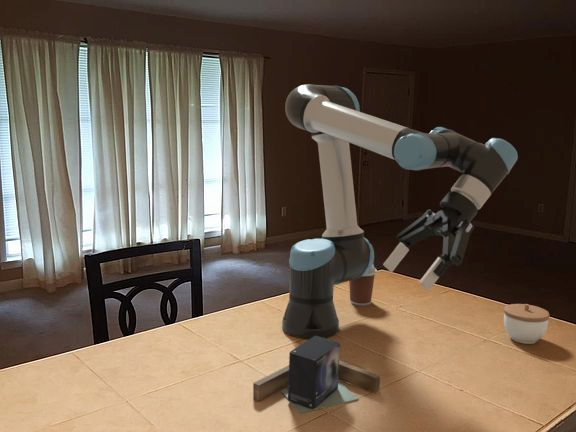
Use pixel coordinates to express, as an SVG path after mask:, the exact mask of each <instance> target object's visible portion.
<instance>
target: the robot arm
mask: <svg viewBox="0 0 576 432" xmlns="http://www.w3.org/2000/svg"><path fill="white" fill-rule="evenodd" d="M284 107H285V114H286V117H287V119H288V122H290V123H291V124H292V125H293V126H294V127H296V128H298V129H301V130H304V131H306V132H309V133H311V134H310V135H311V139H312V140H313V141H315V142H316V143H317V147H318V149H317V150H318V157H319V158H318V159H319V167H320V176H321V178H320V179H321V185H322V195H323V196H322V197H323V204H324V216H325V226H326V230H324V232H323V233H322V235H321V238H312V239H309V238H308V239H304V240H301V241H298V242H296V243H295V244H293V245H292V247H291V248H290V252H289V253H290V255H289V260H288V264H289V271H288V272H289V273H288V274H289V284H288V285H289V287H288V289H289V297H288V299H289V300H288V302H287V306H286V308H285V310H284V311H285V312H284V315H283V316H282V321H281V322H282V325H281V327H282V330H283V332H284V333H286V334H288V335H290V336H292V337H295V338H300V339H307V340H309V339H311V338H312V337H314V336H319V337H322V338H325V339H327V338H329V337H332V336H334V335H336V334H337V333H338V332H339V329H340V328H339V327H340V320H339V318H338V314H337V311H336V306H335V303H334V286H337V285H341V284H344V283H347V282H349V281H350V280H356V279H358V278H360V277H361V276H364V275H365V274H367V273H368V272H369V270H370V269H371V267H372V265H374V261H375V251H374V248H373V245H372V244H371V243H370V241H369V240H368V239H367V238H366V237H365V234H364V233H365V231H364V230H363V229H362V228H360V226H359V225H358V220H357V219H358V218H357V207H356V200H355V190H354V189H355V188H354V179H353V170H352V169H353V167H352V159H351V158H352V157H351V149H350V148H351V147H350V144H352V145H354V146H357V147H360V148H362V149H365V150H369V151H371V152H374V153H376V154H378V155H381V156H383V157H387V158H389V159H392V160H395V161H396V163H397V164H398V166H400V167H401V168H403V169H404V170H409V171H410V170H411V171H422V170H427V169H435V168H444V167H445V168H446V167H449V168H451V169H454V170H455V171H458V172H460V173H462V174H461V175H460V176H459V177H458V179H457V180H456V182H455V183H454V184H453V185H452V187H451V188H450V191H448V192H447V193H446V195H445V196H444V197H443V198H442V200H441V201H440V202H439V210H438V211H437V212H436V213H434V212H433V211H432V210H431V209H427V210H426V211H425V212H424V213H423V214H422V215H421V216H420V217H419V218H417V219H416V220H415V221H414V222H412V223H411V224H410V225H408V226H407V227H405V228H404V229H403V230H401V231H400V232H399V233H398V234H396V238H397V240H398V241H399V242H398V244H397V245H396V246H395V247H394V249H393V250H392V251H391V253H390V255H389V256H388V257H387V258H386V260H385V261H384V262H383V263H382V265H383V266H384V267H385V268H386V269H387V270H388V271H389V272H390V273H393V272H394V270H395V269H396V268H397V267H398V265H399V264H400V262H401V261H402V260H403V259H404V258H405V256H406V255H407V254H408V252H409V251H410V247H411V246H413V245H416V244H417V243H419V242H421V241H423V240H425V239H428V238H429V237H431V236H432V237H435V236H441V237H443V238H442V239H443V240H442V254H439V256H437V258H436V259H435V260H434V261H433V263H432V264H431V265H430V267H429V268H428V269H427V271H426V272H425V273H424V275H423V276H422V277H421V278H420V280H418V283H419V284H420V285H421V286H422V287H423V288H424V289H425V290H427V291H430V290H431V288H432V287H433V286H434V285H435V283H436V282H437V280H438V279H440V278H441V277H442V276H443V275H444V273H445V272H446V271H447V270H448V268H449V267H451V266H453V265H456V266H461V265H462V264H463V261H464V257H465V253H466V250H467V246H468V243H469V239H470V236H471V235H472V233H473V232H474V230H475V227H474V225H473V224H472V223H471V221H473V219H474V218H475V216H477V214H478V210H481V208H482V207H483V206H484V204H485V203H486V202H487V200H488V199H489V198H490V197H491V196H492V194H493V193H494V191H495V190H496V189H497V188H498V186H499V185H501V183H502V181H504V179H505V178H506V177H507V175H509V174H510V172H511V170H512V168H513V167H514V166H515V164H516V162H517V161H518V159H519V156H518V151H517V150H516V148H515V147H514V146H513V144H511V143H510V142H508V141H507V140H505V139H503V138H499V137H498V138H497V137H492V138H490V139H489V140H488V141H487V142H485V144H483V143H482V142H478V141H475V140H473V139H471V138H468V137H467V136H464V135H462V134H460V133H458V132H456V131H455V130H452V129H448V128H446V127H443V126H437V127H435V128H434V129H433V130H431V131H430V132H429V133H425V132H422V131H418V130H416V129H412V128H409V127H407V126H403V125H400V124H398V123H394V122H391V121H388V120H385V119H383V118H379V117H376V116H373V115H370V114H367V113H364V112H361V110H360V103H359V101H358V98H357V96H356V94H354V93H353V92H352V91H351V90H350V89H348V88H347V87H342V86H340V85H339V86H338V85H335V84H334V85H328V84H327V85H324V84H323V85H322V84H310V83H308V84H302V85H299V86H297V87H295V88H294V89H293V90H291V91H290V92H289V94H288V96H287V98H286V101H285V105H284Z"/></svg>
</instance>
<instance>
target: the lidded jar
mask: <svg viewBox="0 0 576 432" xmlns="http://www.w3.org/2000/svg"><path fill="white" fill-rule="evenodd" d="M549 320H550V313H549V311H548V310H546V309H544V308H543V307H542V308H541V307H539V306H537V305H531V304H528V303H511V304H507V305H505V306H504V308H503V324H504V329H505V332H507V335H509V336H510V338H511V340H512V341H514V342H516V343H521V344H525V345H531V344H532V345H533V344H535V343H537V342H538V341H539V340H541V339H542V338H543V337H544V335H545V334H546V332H547V329H548V325H549Z"/></svg>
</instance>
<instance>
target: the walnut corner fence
mask: <svg viewBox="0 0 576 432" xmlns="http://www.w3.org/2000/svg"><path fill="white" fill-rule="evenodd" d="M338 381H342V382H344V383H347V384H349V385H352V386H354V387H358V388H359V389H362V390H365V391H367V392H369V393H372V394H378V393H379V392H380V389H381V387H380V385H381V383H380V382H381V375H380V374H377V373H375V372H372V371H369V370H366V369H363V368H361V367H359V366H355V365H353V364H349V363H347V362H345V361H342V360H339V375H338ZM288 386H289V364H288V365H287V366H284V367H283V368H281V369H278V370H276V371H274V372H272V373H271V374H269V375H266V376H264V377H262V378H260V379H258V380H256V381H255V382H253V385H252V387H253V389H252V391H253V393H252V394H253V395H252V396H253V400H254V401H256V402H261V401H263V400H264V399H266V398H269V397H270V396H272V395H274V394H276V393H278V392H279V391H281V390H284V389H286V387H288Z"/></svg>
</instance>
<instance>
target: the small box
mask: <svg viewBox="0 0 576 432" xmlns="http://www.w3.org/2000/svg"><path fill="white" fill-rule="evenodd" d="M340 347H341V342H339V341H336V340H332V339H329V338H322V337H319V336H314V337H312V338H311V339H307V340H306V341H304V342H303V343H302V344H300V345H299V346H296V347H295V348H293V349H292V350H291V351H289V356H288V359H289V360H288V365H289V386H287V387H288V388H287V389H288V399H287V401H288V402H290V401H291V402H294V403H297V404H299V405H302V406H305V407H308V408H311V409H314V408H316V407H317V406H318V405H319V404H320V403H321V402H323V401H324V400H325V399H326V398H327V397H328V396H330V395H331V394H332V393H333V392H334V391H336V390H337V389H338V381H339V379H338V375H339V361H340V352H341V351H340V350H341V349H340ZM291 402H290V403H291Z"/></svg>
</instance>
